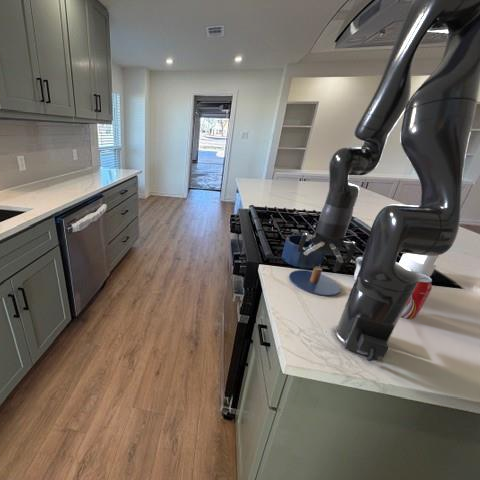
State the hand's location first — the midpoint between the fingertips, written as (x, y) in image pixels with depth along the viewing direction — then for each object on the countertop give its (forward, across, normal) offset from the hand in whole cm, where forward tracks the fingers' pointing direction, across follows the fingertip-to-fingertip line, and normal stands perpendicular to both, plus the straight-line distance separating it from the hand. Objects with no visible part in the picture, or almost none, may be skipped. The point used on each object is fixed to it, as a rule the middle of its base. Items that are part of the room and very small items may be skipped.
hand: (318, 267), depth 81 cm
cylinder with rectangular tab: (+7, +32, +27) cm, 42 cm away
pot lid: (+6, 0, 0) cm, 6 cm away
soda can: (+6, +21, -4) cm, 22 cm away
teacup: (+6, +16, +9) cm, 19 cm away
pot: (+6, -4, +16) cm, 17 cm away
